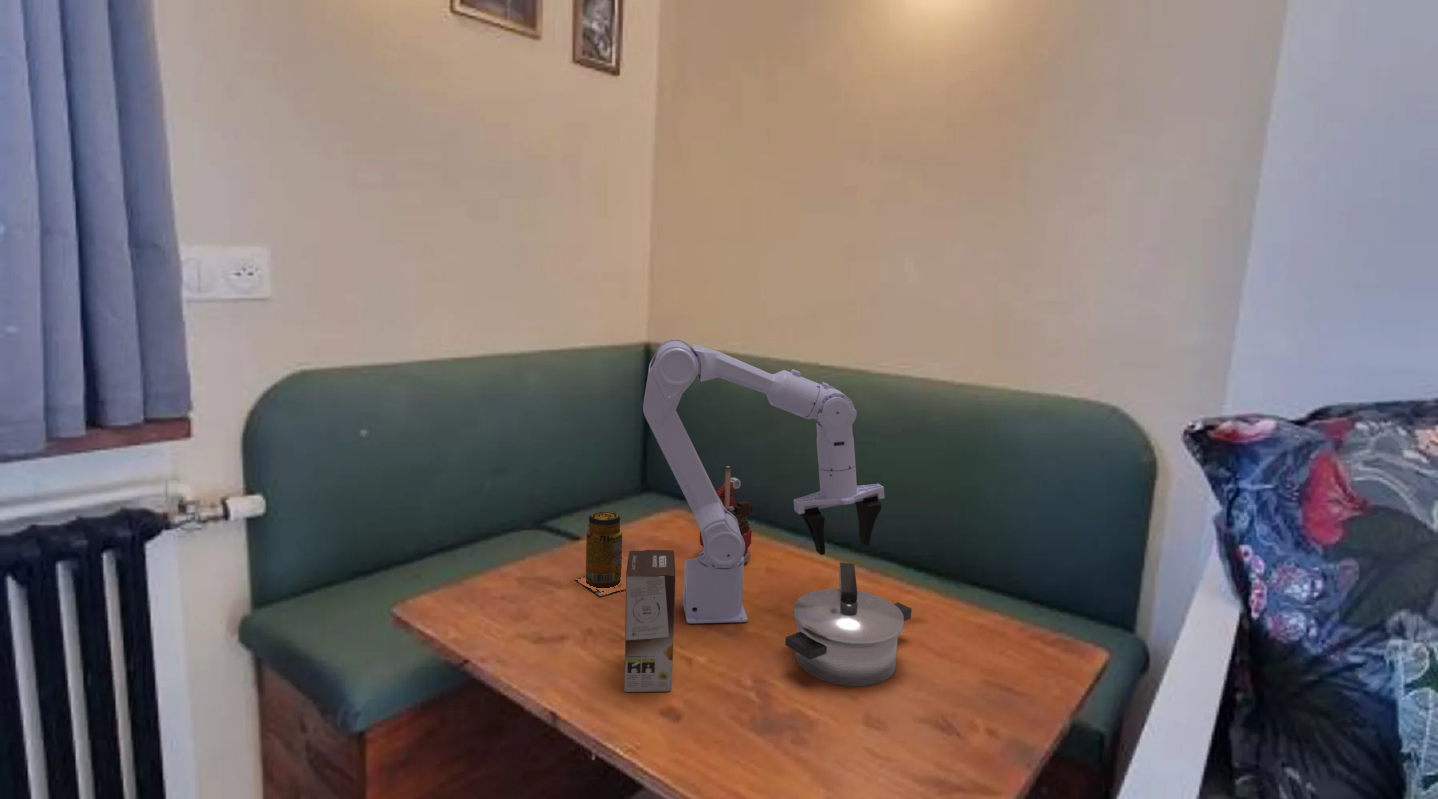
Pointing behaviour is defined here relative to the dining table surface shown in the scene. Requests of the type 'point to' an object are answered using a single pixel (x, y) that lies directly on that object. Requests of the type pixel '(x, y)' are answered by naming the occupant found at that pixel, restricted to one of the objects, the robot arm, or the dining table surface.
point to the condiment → (603, 551)
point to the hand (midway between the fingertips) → (842, 548)
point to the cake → (735, 509)
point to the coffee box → (649, 620)
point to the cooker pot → (845, 658)
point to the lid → (848, 613)
